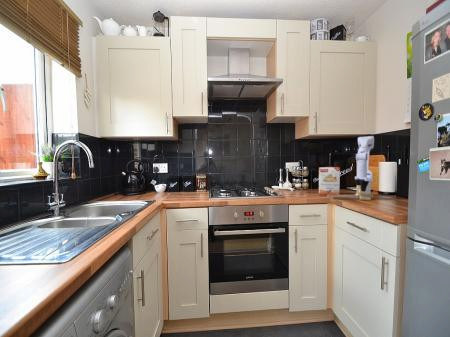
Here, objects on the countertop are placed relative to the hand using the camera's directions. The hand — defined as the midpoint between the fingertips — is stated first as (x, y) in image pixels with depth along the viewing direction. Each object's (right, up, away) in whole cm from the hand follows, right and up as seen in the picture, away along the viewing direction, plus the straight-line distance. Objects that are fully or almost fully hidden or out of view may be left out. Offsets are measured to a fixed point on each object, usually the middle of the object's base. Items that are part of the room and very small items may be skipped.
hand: (361, 190), depth 146 cm
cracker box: (-11, -5, +23) cm, 26 cm away
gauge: (0, -5, 0) cm, 5 cm away
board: (-7, -5, +4) cm, 9 cm away
